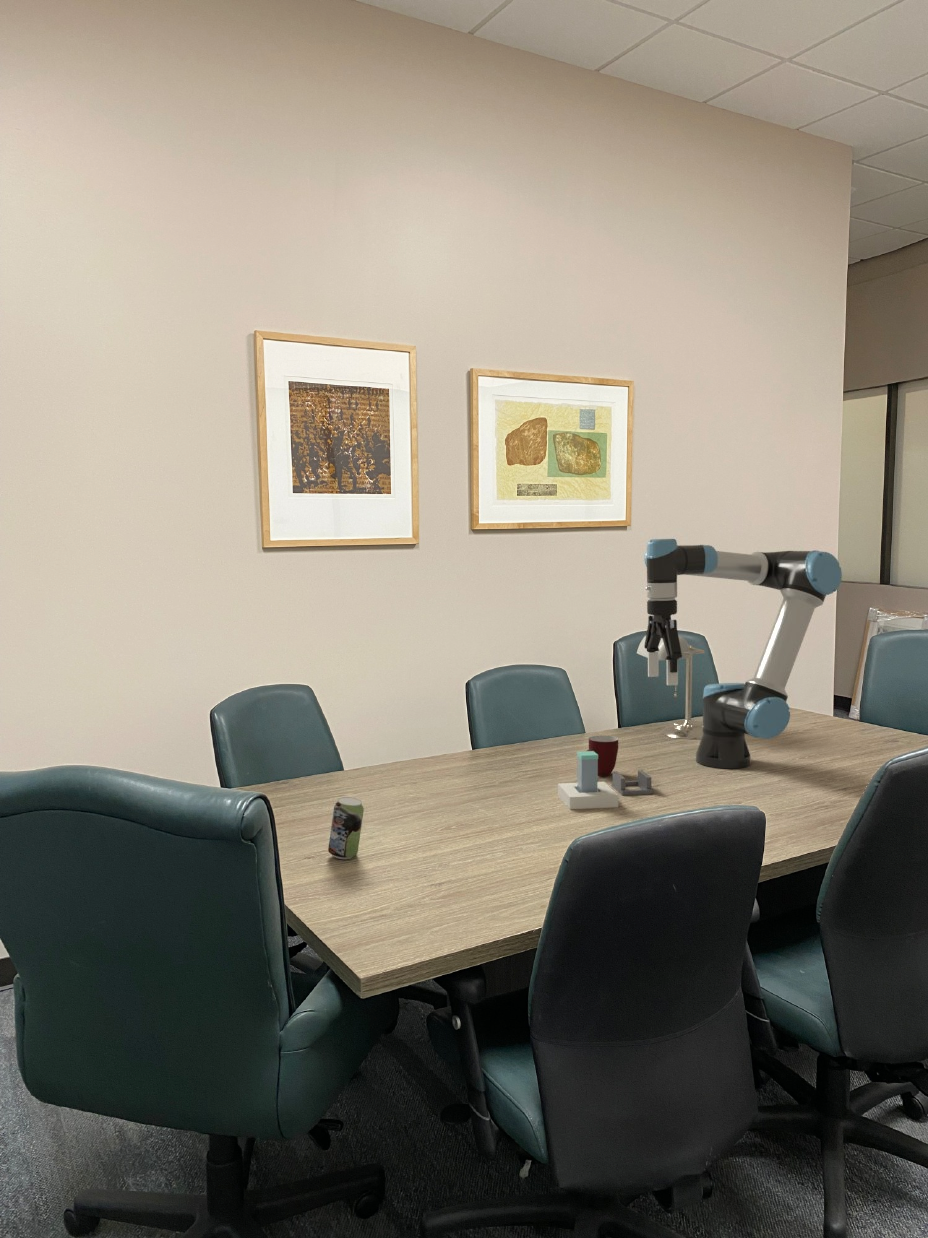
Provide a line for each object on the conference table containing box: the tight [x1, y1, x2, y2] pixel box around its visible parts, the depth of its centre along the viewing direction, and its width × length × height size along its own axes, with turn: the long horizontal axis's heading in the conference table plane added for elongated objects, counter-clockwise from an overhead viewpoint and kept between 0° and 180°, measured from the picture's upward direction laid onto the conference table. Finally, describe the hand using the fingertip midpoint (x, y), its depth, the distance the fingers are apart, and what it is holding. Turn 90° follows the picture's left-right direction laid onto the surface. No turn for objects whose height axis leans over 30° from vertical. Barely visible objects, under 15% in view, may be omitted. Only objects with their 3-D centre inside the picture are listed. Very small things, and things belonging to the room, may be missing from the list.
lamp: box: [636, 635, 706, 740], centre depth 290 cm, size 26×24×34 cm
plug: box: [576, 750, 599, 793], centre depth 216 cm, size 4×4×12 cm
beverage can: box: [327, 796, 365, 860], centre depth 178 cm, size 6×7×12 cm
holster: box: [610, 769, 654, 796], centre depth 226 cm, size 8×9×4 cm
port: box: [557, 781, 619, 810], centre depth 216 cm, size 12×12×3 cm
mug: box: [586, 735, 619, 777], centre depth 240 cm, size 10×8×10 cm
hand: (662, 680), depth 227 cm, fingers open, 13 cm apart
